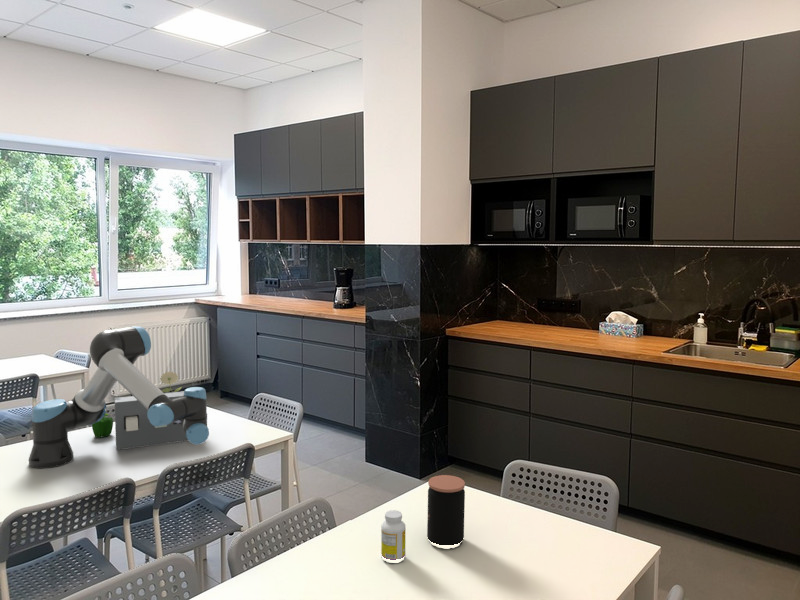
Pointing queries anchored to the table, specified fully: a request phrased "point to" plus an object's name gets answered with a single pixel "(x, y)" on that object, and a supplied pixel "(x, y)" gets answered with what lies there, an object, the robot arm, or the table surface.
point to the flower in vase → (169, 380)
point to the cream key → (131, 423)
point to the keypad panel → (143, 425)
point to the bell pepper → (103, 427)
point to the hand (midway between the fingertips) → (185, 408)
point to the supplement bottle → (393, 536)
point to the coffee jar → (446, 510)
